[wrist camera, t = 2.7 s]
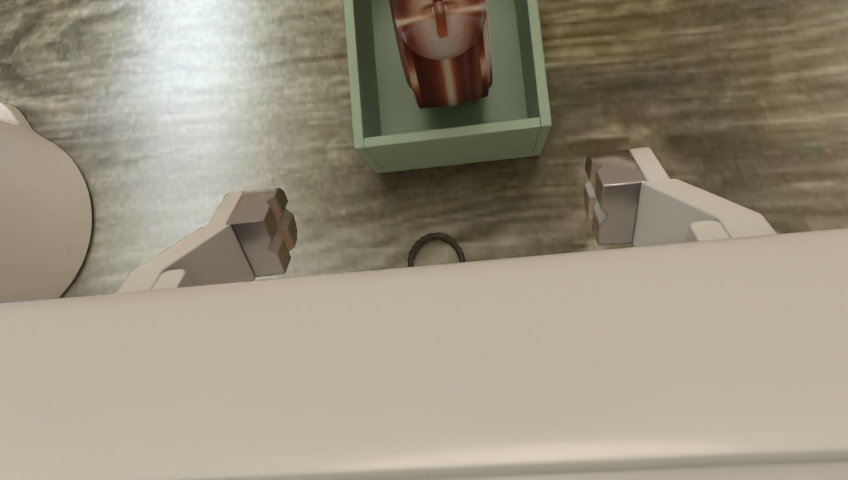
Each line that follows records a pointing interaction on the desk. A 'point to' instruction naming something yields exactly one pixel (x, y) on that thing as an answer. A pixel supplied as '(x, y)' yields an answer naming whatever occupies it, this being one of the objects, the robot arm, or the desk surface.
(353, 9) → the storage box
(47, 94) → the desk surface
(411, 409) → the robot arm
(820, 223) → the desk surface
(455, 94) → the alarm clock
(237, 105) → the desk surface
